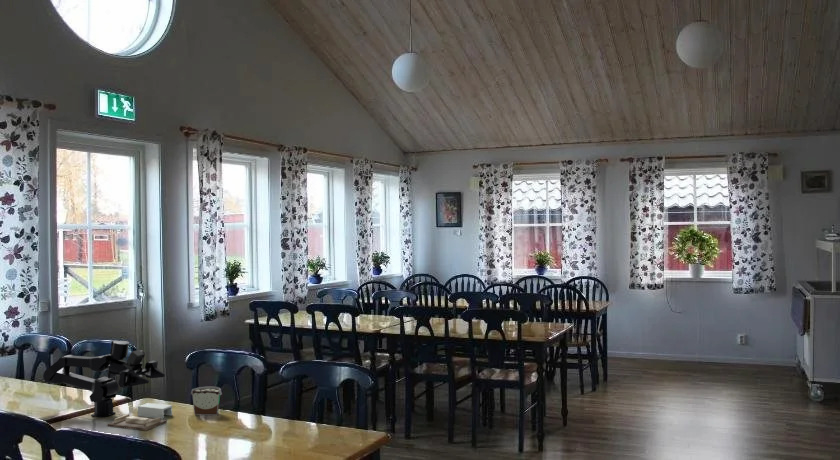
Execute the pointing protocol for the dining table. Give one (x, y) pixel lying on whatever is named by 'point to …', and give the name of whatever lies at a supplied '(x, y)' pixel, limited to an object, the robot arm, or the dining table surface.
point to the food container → (206, 400)
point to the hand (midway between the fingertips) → (156, 378)
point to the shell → (154, 410)
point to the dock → (135, 426)
